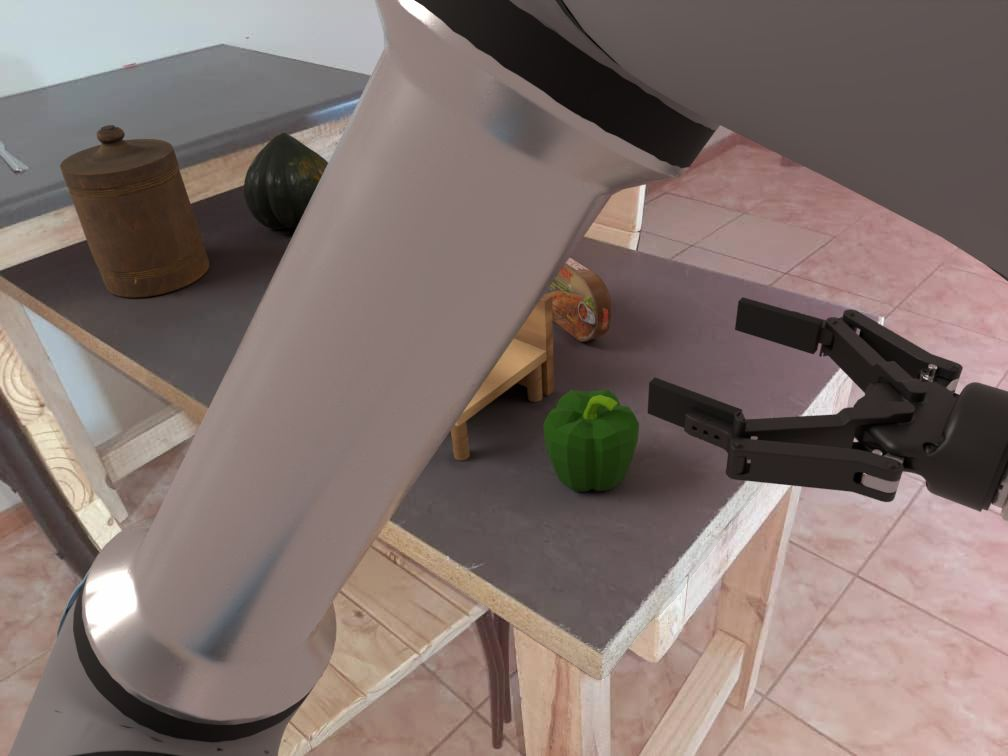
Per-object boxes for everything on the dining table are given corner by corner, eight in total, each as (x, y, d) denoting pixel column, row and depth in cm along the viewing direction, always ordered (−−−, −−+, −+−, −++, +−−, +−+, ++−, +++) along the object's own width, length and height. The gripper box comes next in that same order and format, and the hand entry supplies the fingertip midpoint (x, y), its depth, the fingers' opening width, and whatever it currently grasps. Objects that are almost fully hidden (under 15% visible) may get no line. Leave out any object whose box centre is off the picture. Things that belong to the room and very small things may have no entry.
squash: (281, 222, 116) (310, 127, 116) (214, 210, 123) (242, 120, 123) (341, 252, 128) (368, 166, 129) (278, 239, 135) (303, 157, 136)
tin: (530, 302, 103) (527, 244, 98) (550, 296, 104) (549, 237, 99) (593, 354, 91) (593, 291, 87) (615, 346, 93) (617, 284, 88)
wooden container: (182, 244, 124) (137, 104, 112) (227, 271, 116) (184, 122, 103) (89, 278, 116) (30, 131, 104) (130, 309, 107) (70, 153, 95)
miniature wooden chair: (462, 465, 77) (450, 364, 70) (367, 414, 84) (348, 319, 77) (554, 391, 86) (552, 295, 79) (461, 352, 94) (451, 262, 87)
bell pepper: (530, 466, 76) (526, 383, 70) (600, 438, 79) (602, 355, 73) (576, 519, 70) (576, 432, 64) (651, 486, 73) (657, 400, 67)
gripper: (938, 637, 42) (605, 479, 53) (1039, 406, 57) (763, 323, 68) (978, 538, 37) (606, 391, 49) (1076, 317, 52) (774, 245, 64)
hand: (697, 351), depth 59 cm, fingers open, 13 cm apart
